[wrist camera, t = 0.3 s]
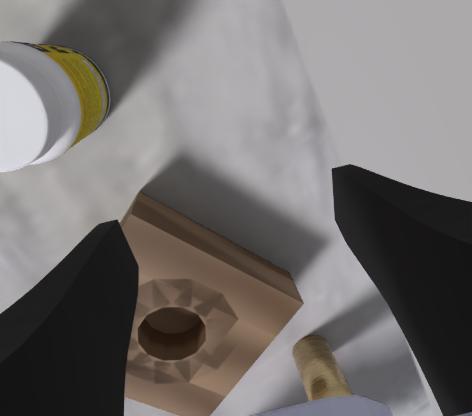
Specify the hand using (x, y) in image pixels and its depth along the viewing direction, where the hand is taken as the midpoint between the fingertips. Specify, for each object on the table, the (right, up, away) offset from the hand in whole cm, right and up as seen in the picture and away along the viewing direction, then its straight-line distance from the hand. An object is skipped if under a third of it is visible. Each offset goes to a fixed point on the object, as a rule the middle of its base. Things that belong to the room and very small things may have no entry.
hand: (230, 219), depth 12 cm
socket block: (-4, -6, +14) cm, 16 cm away
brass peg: (+6, -11, +17) cm, 21 cm away
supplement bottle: (-9, +7, +8) cm, 14 cm away
